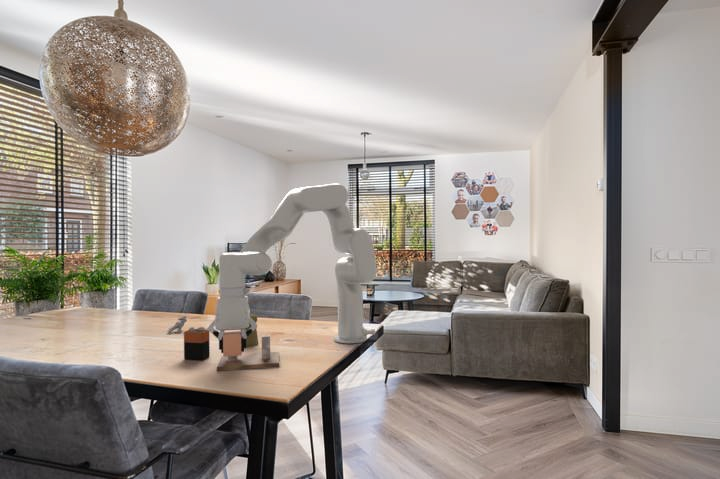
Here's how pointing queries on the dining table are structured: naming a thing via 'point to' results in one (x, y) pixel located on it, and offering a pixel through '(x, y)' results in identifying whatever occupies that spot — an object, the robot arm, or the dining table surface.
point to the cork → (252, 334)
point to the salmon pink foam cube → (232, 343)
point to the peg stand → (251, 359)
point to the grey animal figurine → (178, 324)
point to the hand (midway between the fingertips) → (232, 350)
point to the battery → (196, 344)
